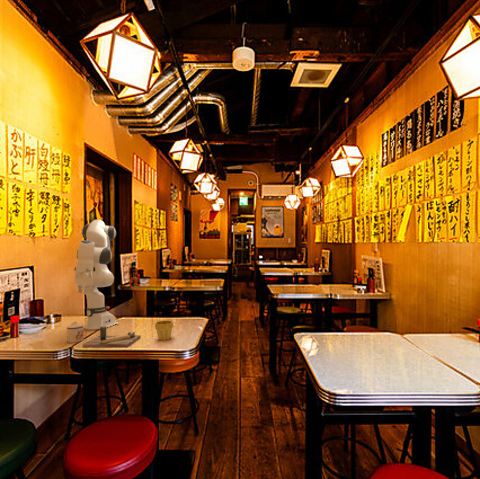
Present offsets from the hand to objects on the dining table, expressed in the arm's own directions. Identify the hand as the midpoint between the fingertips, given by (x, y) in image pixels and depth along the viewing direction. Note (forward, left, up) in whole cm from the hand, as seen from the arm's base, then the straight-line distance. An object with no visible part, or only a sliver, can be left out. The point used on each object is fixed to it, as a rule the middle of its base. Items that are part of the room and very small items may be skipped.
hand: (82, 293), depth 187 cm
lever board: (-12, +10, -30) cm, 33 cm away
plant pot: (-30, +33, -30) cm, 53 cm away
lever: (-13, +13, -28) cm, 33 cm away
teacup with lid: (-7, -15, -30) cm, 34 cm away
